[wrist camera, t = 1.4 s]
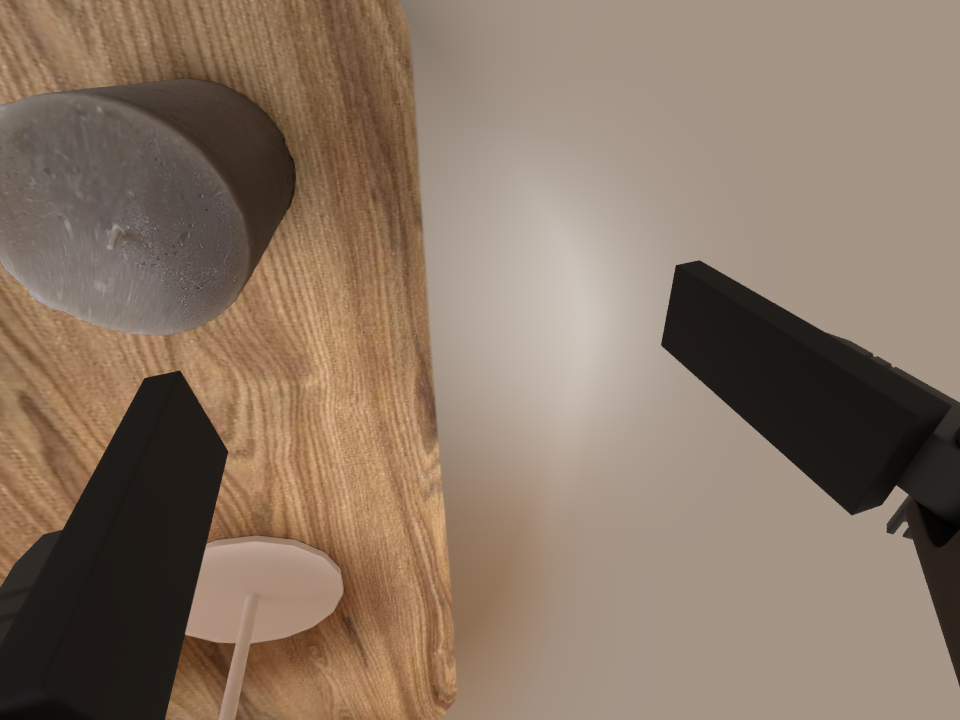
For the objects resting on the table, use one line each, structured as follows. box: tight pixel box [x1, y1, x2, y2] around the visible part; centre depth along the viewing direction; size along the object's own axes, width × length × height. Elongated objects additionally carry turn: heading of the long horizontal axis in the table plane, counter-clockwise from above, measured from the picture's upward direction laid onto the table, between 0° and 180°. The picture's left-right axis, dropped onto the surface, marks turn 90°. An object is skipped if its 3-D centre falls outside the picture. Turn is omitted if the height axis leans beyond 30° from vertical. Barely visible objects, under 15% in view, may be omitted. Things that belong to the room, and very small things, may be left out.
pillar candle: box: [0, 79, 296, 335], centre depth 23 cm, size 10×10×15 cm
